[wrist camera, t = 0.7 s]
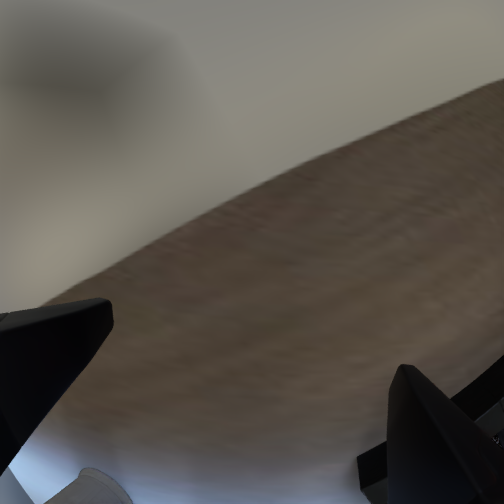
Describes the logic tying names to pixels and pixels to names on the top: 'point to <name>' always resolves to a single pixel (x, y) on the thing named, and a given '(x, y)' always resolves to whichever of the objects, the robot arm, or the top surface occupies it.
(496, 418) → the black square tray
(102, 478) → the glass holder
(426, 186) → the top surface
